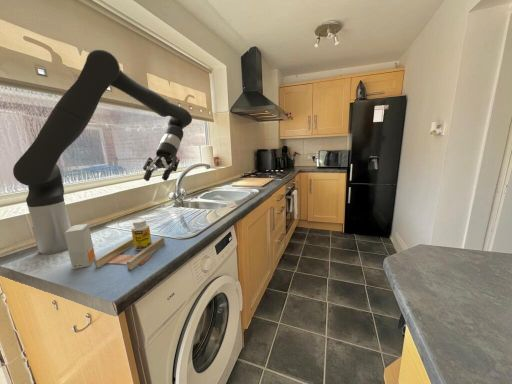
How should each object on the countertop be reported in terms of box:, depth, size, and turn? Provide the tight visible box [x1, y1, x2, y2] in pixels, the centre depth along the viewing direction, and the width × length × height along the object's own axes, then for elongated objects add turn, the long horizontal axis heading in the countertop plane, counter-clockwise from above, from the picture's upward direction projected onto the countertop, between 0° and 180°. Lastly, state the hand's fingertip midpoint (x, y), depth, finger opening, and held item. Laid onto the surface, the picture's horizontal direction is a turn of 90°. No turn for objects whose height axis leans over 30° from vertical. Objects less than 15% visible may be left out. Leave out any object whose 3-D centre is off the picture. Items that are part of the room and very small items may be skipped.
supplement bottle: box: [131, 218, 153, 251], centre depth 74 cm, size 6×6×10 cm
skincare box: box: [64, 223, 96, 270], centre depth 64 cm, size 6×4×12 cm
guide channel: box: [93, 236, 165, 271], centre depth 70 cm, size 15×17×2 cm
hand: (154, 179), depth 80 cm, fingers open, 8 cm apart
